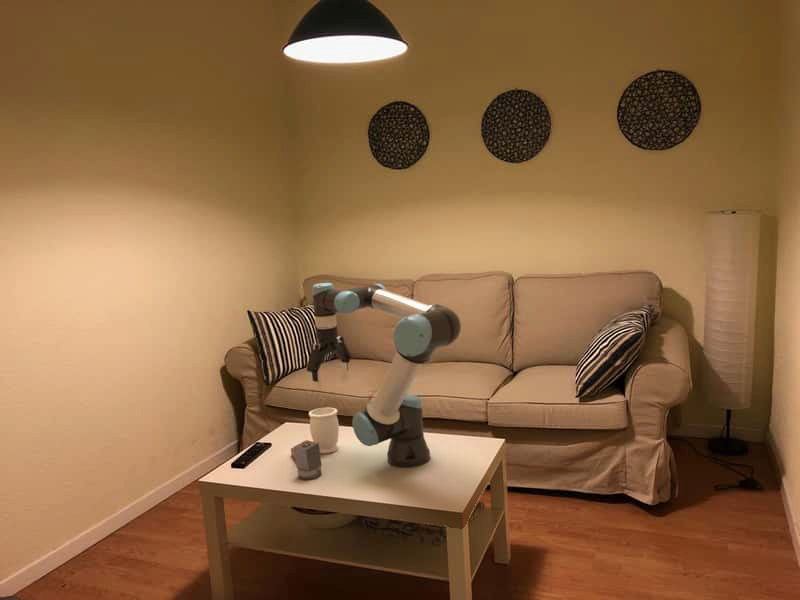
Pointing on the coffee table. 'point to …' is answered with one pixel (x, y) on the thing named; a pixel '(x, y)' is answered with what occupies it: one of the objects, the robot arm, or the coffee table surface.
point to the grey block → (307, 456)
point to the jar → (324, 429)
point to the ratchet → (307, 475)
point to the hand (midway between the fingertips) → (331, 384)
